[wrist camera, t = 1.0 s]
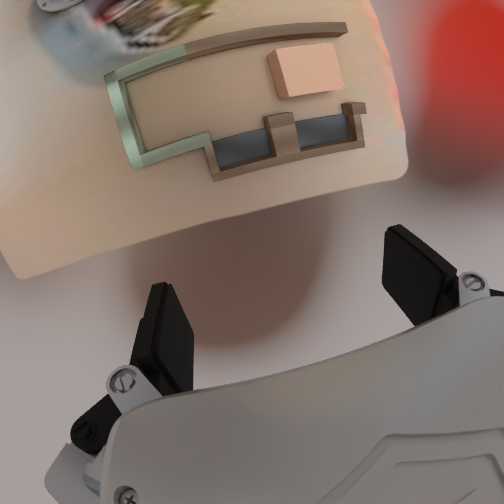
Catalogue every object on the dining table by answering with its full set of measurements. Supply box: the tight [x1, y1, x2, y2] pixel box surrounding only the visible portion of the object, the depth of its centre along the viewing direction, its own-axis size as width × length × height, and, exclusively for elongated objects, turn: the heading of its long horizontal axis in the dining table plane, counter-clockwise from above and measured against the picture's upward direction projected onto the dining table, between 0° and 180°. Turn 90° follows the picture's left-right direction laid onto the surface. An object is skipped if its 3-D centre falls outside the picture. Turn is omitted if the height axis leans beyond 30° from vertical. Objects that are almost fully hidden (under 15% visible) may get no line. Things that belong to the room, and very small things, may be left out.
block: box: [267, 43, 345, 99], centre depth 27 cm, size 6×7×5 cm
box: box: [104, 22, 367, 182], centre depth 29 cm, size 18×30×3 cm, turn 104°
